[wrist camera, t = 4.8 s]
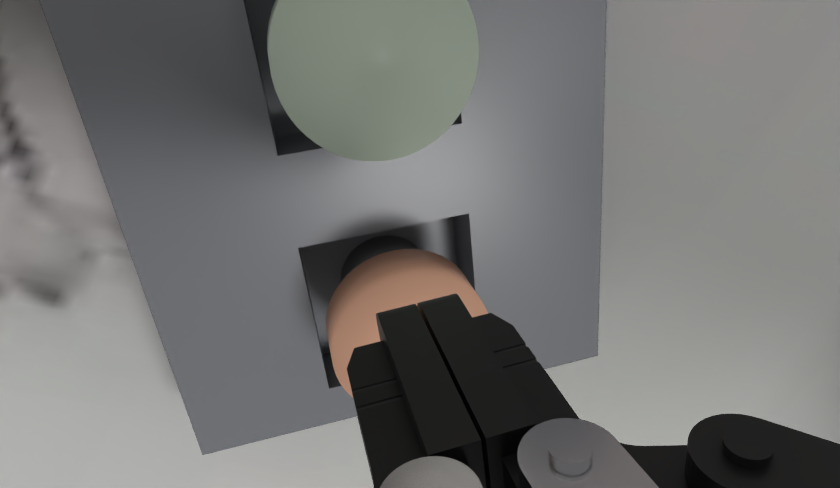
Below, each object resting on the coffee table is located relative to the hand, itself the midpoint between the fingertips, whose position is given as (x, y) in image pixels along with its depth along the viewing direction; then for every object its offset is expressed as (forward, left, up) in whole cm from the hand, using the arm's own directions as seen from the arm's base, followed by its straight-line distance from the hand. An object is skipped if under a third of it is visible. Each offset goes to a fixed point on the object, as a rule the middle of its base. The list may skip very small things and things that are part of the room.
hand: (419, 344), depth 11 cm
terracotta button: (-1, +4, -9) cm, 10 cm away
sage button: (-1, -4, -9) cm, 10 cm away
